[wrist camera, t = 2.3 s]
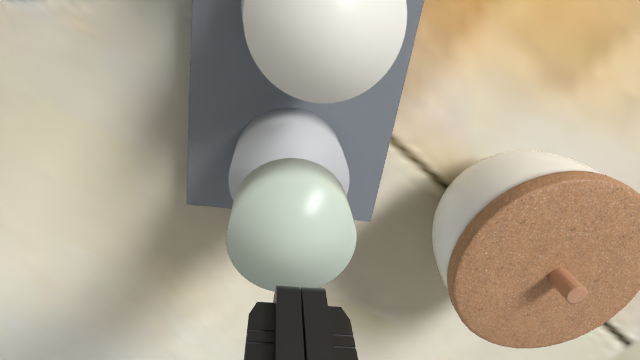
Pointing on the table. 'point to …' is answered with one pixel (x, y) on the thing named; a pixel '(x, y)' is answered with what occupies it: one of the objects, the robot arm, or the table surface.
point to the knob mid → (324, 44)
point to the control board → (254, 92)
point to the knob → (290, 225)
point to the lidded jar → (537, 247)
